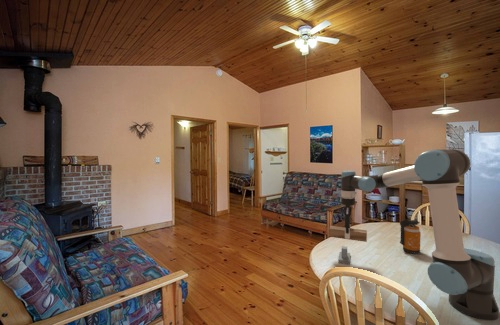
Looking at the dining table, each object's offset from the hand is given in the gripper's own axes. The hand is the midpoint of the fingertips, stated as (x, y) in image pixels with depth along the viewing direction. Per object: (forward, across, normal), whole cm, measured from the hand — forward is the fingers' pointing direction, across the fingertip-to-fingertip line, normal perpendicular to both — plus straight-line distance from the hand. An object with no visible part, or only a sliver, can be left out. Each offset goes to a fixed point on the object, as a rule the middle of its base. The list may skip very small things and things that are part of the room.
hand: (347, 236), depth 144 cm
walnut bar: (+1, 0, 0) cm, 1 cm away
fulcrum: (+13, -1, +2) cm, 14 cm away
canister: (+14, +26, -35) cm, 45 cm away
